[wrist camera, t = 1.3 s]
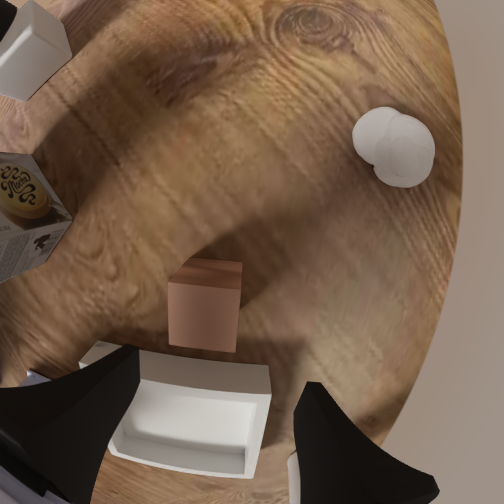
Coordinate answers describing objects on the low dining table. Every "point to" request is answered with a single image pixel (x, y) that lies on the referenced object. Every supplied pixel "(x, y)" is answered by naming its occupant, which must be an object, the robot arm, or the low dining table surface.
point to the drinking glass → (294, 479)
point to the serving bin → (192, 414)
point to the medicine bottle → (29, 48)
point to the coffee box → (27, 215)
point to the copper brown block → (205, 304)
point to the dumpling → (394, 146)
